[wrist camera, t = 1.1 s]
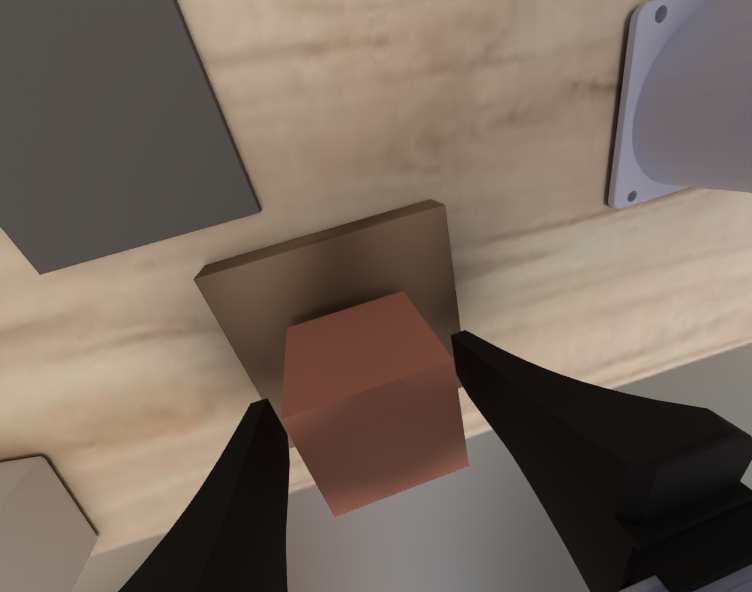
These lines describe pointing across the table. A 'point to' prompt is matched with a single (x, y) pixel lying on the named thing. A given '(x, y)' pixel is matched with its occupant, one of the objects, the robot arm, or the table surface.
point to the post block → (331, 285)
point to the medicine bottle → (39, 530)
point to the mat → (108, 131)
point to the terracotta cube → (371, 402)
